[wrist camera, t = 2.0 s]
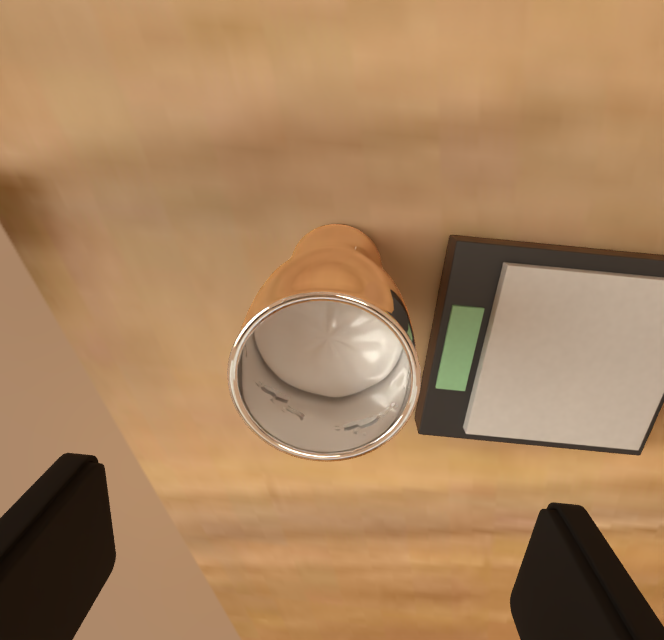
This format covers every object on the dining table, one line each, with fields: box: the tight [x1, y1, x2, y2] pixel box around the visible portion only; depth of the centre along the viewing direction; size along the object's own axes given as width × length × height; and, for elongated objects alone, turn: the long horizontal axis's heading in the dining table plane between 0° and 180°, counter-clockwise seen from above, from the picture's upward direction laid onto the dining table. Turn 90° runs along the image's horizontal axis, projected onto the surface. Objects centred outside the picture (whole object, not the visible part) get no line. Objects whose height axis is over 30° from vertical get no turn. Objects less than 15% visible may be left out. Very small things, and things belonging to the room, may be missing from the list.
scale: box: [415, 235, 664, 455], centre depth 28 cm, size 16×14×3 cm
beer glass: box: [228, 224, 421, 461], centre depth 21 cm, size 7×7×15 cm
